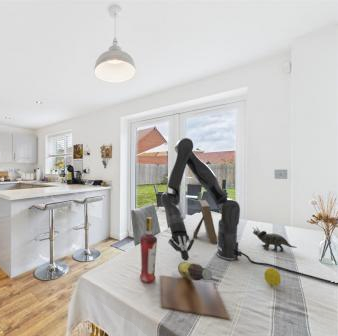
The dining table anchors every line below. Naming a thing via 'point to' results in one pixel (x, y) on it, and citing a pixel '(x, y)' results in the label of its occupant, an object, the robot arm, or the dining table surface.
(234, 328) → the dining table surface
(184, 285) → the wooden board
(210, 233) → the photo frame
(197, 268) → the sauce bottle
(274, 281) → the lemon
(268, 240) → the toy dinosaur
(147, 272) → the liquor
